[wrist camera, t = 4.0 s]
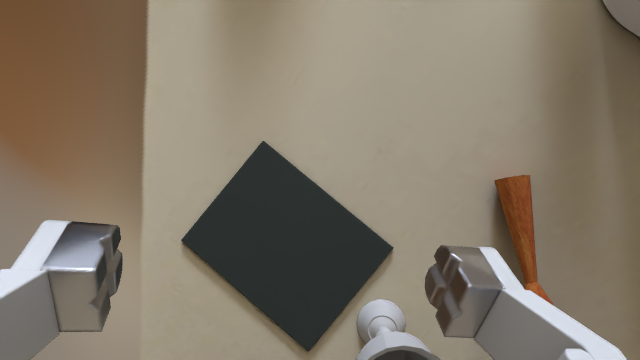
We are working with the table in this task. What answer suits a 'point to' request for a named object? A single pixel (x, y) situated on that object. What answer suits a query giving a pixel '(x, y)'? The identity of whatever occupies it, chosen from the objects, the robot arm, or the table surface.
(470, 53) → the table surface
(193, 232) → the mat
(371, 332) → the chalice
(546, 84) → the table surface
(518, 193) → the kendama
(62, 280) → the robot arm
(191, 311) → the table surface
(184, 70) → the table surface
